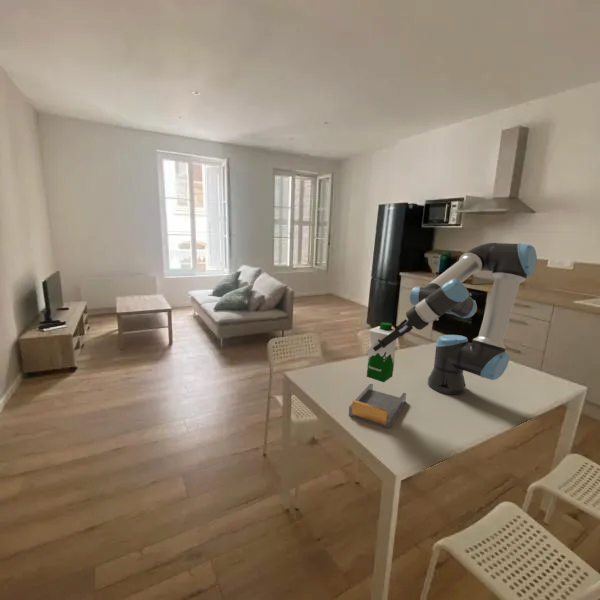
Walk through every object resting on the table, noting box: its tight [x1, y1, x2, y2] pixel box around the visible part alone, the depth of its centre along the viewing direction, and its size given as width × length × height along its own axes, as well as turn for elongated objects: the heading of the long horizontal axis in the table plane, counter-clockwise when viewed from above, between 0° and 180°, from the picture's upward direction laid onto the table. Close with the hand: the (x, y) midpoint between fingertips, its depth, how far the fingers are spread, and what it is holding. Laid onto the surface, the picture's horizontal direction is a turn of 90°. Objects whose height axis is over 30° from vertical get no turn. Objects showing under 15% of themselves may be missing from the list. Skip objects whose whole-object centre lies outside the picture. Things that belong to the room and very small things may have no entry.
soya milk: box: [366, 321, 397, 383], centre depth 117 cm, size 9×9×20 cm
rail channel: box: [348, 383, 407, 430], centre depth 122 cm, size 22×15×6 cm
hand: (372, 349), depth 119 cm, fingers closed on soya milk, 9 cm apart
